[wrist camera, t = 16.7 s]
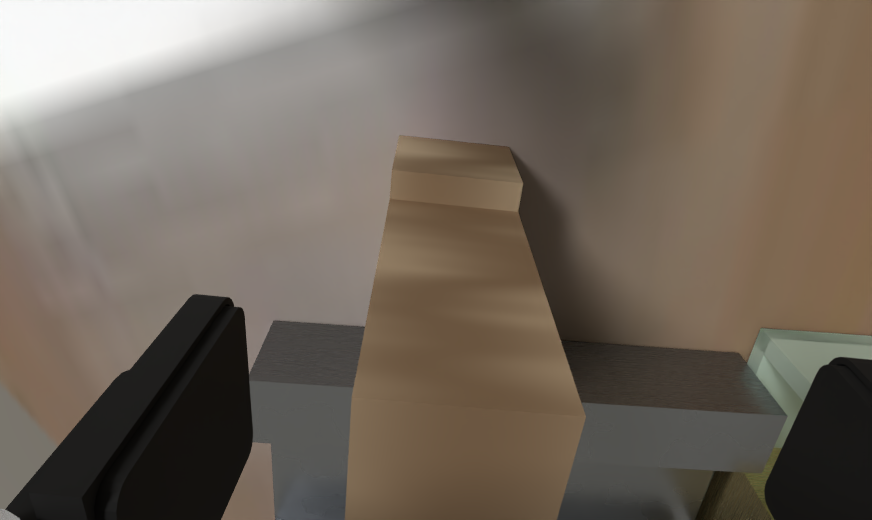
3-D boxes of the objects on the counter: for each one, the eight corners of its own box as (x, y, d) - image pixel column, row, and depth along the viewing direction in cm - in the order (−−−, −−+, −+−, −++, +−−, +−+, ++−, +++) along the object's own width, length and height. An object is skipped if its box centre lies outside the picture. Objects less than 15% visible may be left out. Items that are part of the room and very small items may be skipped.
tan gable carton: (508, 147, 16) (597, 373, 7) (485, 286, 18) (534, 599, 9) (399, 135, 16) (354, 351, 7) (387, 277, 18) (340, 586, 9)
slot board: (738, 353, 19) (788, 416, 17) (660, 558, 24) (689, 634, 21) (273, 320, 19) (246, 380, 16) (283, 537, 23) (263, 612, 20)
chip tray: (1050, 348, 19) (1149, 411, 17) (892, 587, 25) (948, 664, 22) (760, 328, 19) (814, 388, 16) (664, 575, 24) (693, 651, 22)
